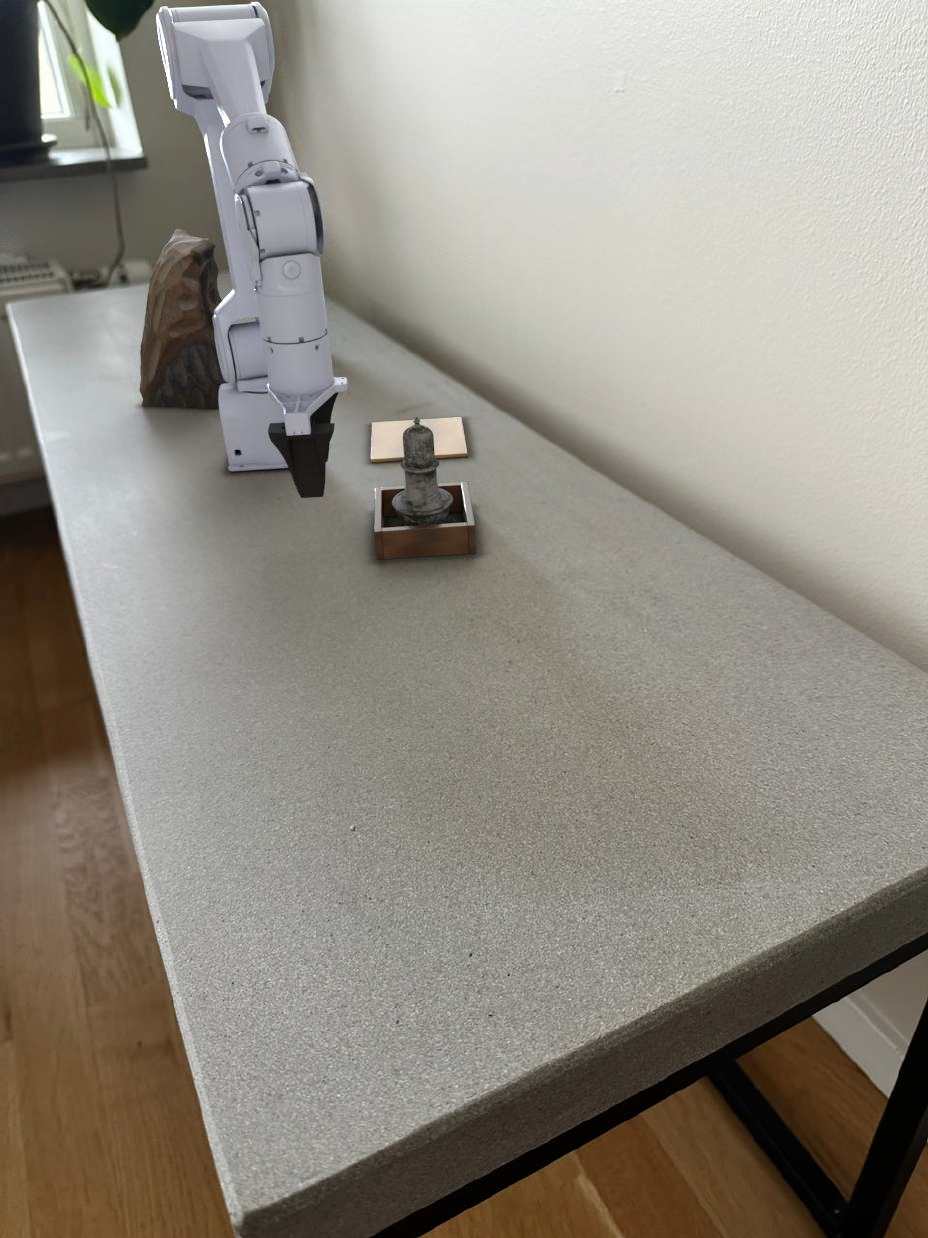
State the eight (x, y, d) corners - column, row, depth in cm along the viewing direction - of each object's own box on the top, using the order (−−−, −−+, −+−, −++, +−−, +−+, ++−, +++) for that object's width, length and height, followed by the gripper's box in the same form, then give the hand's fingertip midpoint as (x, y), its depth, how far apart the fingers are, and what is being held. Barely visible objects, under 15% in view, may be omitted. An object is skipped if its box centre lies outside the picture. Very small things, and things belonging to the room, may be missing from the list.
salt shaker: (447, 549, 92) (440, 430, 85) (388, 545, 93) (377, 428, 86) (460, 520, 96) (454, 406, 90) (403, 517, 97) (393, 403, 91)
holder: (376, 560, 90) (373, 531, 89) (377, 514, 98) (374, 487, 97) (476, 553, 91) (475, 525, 89) (468, 508, 99) (467, 481, 97)
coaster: (371, 462, 109) (370, 459, 109) (372, 425, 118) (371, 422, 118) (467, 456, 109) (467, 453, 109) (461, 419, 118) (461, 416, 118)
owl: (197, 374, 136) (168, 224, 125) (271, 384, 131) (248, 230, 120) (137, 405, 127) (100, 246, 116) (215, 417, 122) (183, 253, 111)
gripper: (338, 358, 77) (355, 510, 84) (344, 307, 89) (359, 444, 97) (249, 363, 77) (274, 515, 84) (268, 312, 89) (288, 448, 96)
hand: (314, 477), depth 90 cm, fingers open, 7 cm apart
